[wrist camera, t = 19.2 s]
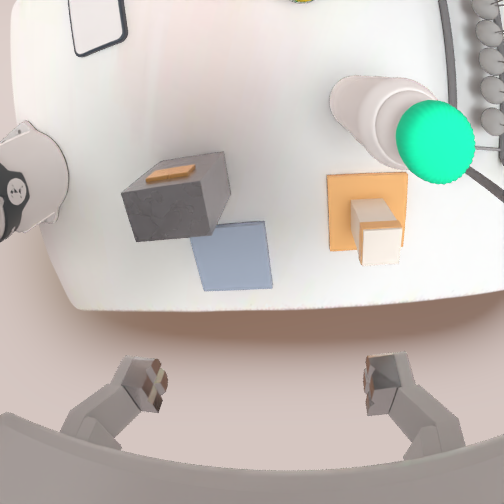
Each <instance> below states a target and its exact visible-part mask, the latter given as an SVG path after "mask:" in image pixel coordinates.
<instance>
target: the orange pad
mask: <svg viewBox="0 0 504 504" xmlns="http://www.w3.org/2000/svg"><path fill="white" fill-rule="evenodd" d="M407 185H408V174H407V173H406V172H393V173H362V174H341V175H327V188H328V209H329V239H330V251H345V250H357V247H356V244H355V241H354V238H353V235H352V232H351V200H356V199H376V198H383V199H384V201H385V202H386V204H387V205H388V207H389V209H390V210H391V212H392V213H393V215H394V216H395V218H396V219H397V220H399V222H400V224H401V225H402V239H401V247H403V241H404V230H405V218H406V204H407Z"/></svg>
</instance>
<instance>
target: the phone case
mask: <svg viewBox="0 0 504 504" xmlns="http://www.w3.org/2000/svg"><path fill="white" fill-rule="evenodd" d="M68 7H69V15H70V23H71V31H72V38H73V44H74V50H75V54H76V55H77V56H78V57H85V56H88V55H90V54H93V53H95V52H97V51H100V50H102V49H105V48H107V47H110V46H113V45H115V44H118V43H121V42H123V41H124V40H125V39H126V38H127V35H128V28H127V22H126V14H125V7H124V0H68Z"/></svg>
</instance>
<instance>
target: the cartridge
mask: <svg viewBox="0 0 504 504" xmlns="http://www.w3.org/2000/svg"><path fill="white" fill-rule="evenodd" d="M351 232H352V235H353V238H354V241H355V244H356V247H357V251H358V254H359V260H360V263H361V265H362V266H371V265H385V264H398V263H399V258H400V249H401V239H402V225H401V224H400V222H399V220H397V219H396V218H395V216H394V215H393V213H392V212H391V210H390V209H389V207H388V205H387V204H386V202H385V201H384V199H383V198H376V199H356V200H351Z"/></svg>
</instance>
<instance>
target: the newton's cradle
mask: <svg viewBox="0 0 504 504" xmlns="http://www.w3.org/2000/svg"><path fill="white" fill-rule="evenodd" d="M500 1H503V0H499V1H498V0H472V8H473V10H474V11H475V13H476V14H477V15H478V16H479V17H481V18H483V19H486V20H482V21H480V22H479V23H478V24H477V26H476V34H477V37H478V38H479V40H480V41H481V42H482V43H483V44H484V45H486V46H488V47H497V46H498V51H497V50H496V49H494V48H485V49H483V50H482V51H481V52H480V55H479V62H480V65H481V67H482V68H483V70H484V71H485V72H487V73H488V74H490V75H494V76H497V75H500V79H499V78H497V77H494V76H488V77H486V78H484V79H483V81H482V83H481V92H482V95H483V96H484V98H485V99H486V100H487V101H488V102H490V103H492V104H501V111H500V110H498V109H496V108H487V109H486V110H485V111H484V112H483V113H482V116H481V123H482V126H483V128H484V130H485V131H486V132H487V133H489V134H490V135H493V136H499V135H500V146H499V148H487V147H475V149H476V150H492V151H499V155H500V159H501V162H502V164H503V166H504V37H503V34H504V33H503V32H504V30H502V23H501V17H500V11H499V6H504V5H498V2H500ZM439 5H440V11H441V17H442V24H443V31H444V39H445V47H446V57H447V69H448V85H449V104H450V105H451V106H453V107H455V108H456V109H457V89H456V71H455V58H454V48H453V39H452V32H451V24H450V18H449V12H448V6H447V1H446V0H439ZM492 19H494V22H495V23H494V22H492V21H489V20H492ZM465 173H466V174H467V175H469V176H470V177H471V178H473V179H474V180H475V181H477V182H478V183H479V184H481V185H482V186H483V187H485V188H486V189H487V190H488V191H490V192H491V193H492V194H494V195H495V196H496V197H497V198H498V199H500V200H501V201H502V202H503V203H504V190H503V189H502V188H500V187H499V186H497V185H496V184H495V183H493V182H492V181H491V180H489V179H488V178H486V177H485V176H483V175H482V174H481V173H479V172H478V171H476V170H475V169H473V168H472V167H470V166H469V168H468V169H466V172H465Z"/></svg>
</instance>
